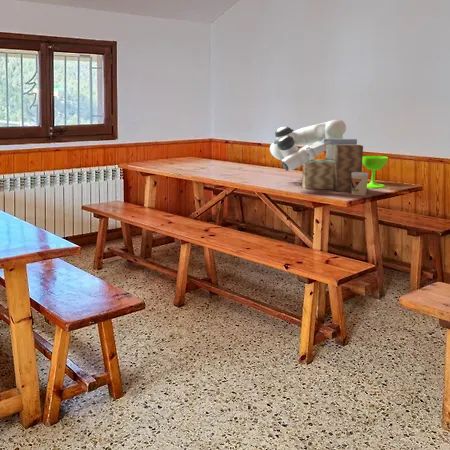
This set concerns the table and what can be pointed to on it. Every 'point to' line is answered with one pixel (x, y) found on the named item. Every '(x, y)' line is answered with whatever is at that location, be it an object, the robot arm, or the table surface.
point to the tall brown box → (346, 165)
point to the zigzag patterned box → (318, 174)
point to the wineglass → (374, 168)
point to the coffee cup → (359, 183)
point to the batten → (342, 141)
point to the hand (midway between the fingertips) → (329, 140)
